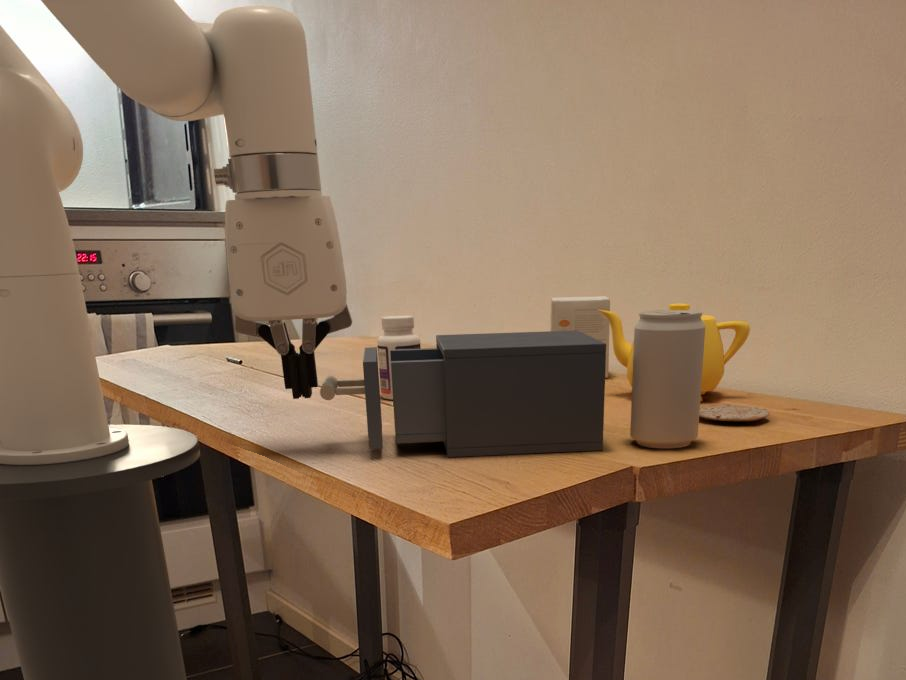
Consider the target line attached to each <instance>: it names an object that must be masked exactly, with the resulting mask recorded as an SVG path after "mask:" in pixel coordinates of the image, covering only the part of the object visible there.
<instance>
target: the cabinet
mask: <svg viewBox="0 0 906 680" xmlns="http://www.w3.org/2000/svg"><path fill="white" fill-rule="evenodd" d="M435 343H436V344H435V345H436V347H435V348H439V349H440V351H441V353H442V354H443V356H444V379H445V405H446V432H447V441H443V446H444V449H445V452H446V456H447V458H459V457H462V458H463V457H482V456H483V457H484V456H485V457H486V456H506V455H508V456H509V455H528V454H549V453H551V454H552V453H573V452H594V451H604V428H605V427H604V425H605V424H604V423H605V422H604V421H605V397H606V396H605V393H606V392H605V391H606V378H605V366H606V353H605V352H606V343H603V342H601V341H599V340H597V339H595V338H593V337H591V336H589V335H587V334H584V333H582V332H580V331H578V330H575V331H519V332H518V331H517V332H491V333H462V334H461V333H459V334H436V335H435Z"/></svg>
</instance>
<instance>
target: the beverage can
mask: <svg viewBox="0 0 906 680" xmlns="http://www.w3.org/2000/svg"><path fill="white" fill-rule="evenodd" d="M702 315H703V312H702V311H700V310H690V309H689V310H670V309H655V310H645V311H640V312H639V313H638V317H639V319H638V321H637V323H636V324H635V326H634V328H633V329H634V330H633V332H634V333H633V336H634V337H633V340H634V353H633V378H632V387H631V404H630V406H631V407H630V428H629V430H630V431H629V435H630V438H632V439H633V440H634V441H635V442H636V444H637V445H639V446H641V447H645V448H650V449H651V448H652V449H681V448H686V447H688V446H690V445H691V442H693V441H694V440H696V439H697V438H698V436H699V426H700V425H699V424H700V417H699V411H700V408H701V401H700V397H702V394H701V383H702V369H703V355H704V341H705V325H704V323H703V321H702V319H701V316H702Z"/></svg>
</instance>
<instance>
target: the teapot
mask: <svg viewBox="0 0 906 680" xmlns="http://www.w3.org/2000/svg"><path fill="white" fill-rule="evenodd" d="M690 307H691V304H689V303H682V302H681V303H671V304H669V305H668V310H690ZM598 310H599V309H598ZM599 311H600V312H601V313H603V314H604V315H605V316H606V317H607V319H608V320H609V322H610V329H611V338H612V348H613V352H614V355H615V357H616V359H617V361H618V363H620V365H622V366H623V367H625V368H626V378H627V380H628V383H629V385H630V387H631V388H632V378H633V353H634V339H633V341H632V343H631V344H630V343H629V342H628V341H627V340H626V338H625V336H624V330H623V329H624V328H623V324H622V319H621V318H620V316H619V314H618V313H616V312H614V311H611V310H610V311H605V310H599ZM701 319H702V321H703V323H704V325H705V341H704V355H703V369H702V383H701V395H705V394H706V392H712V391H715V390H716V389H717V387H718V385H719V384H720V382H721V380H722V378H723V376H724V374H725V366H726V365H727V363H728V362H729V361H730V360H731V359H732V358H733V357H734V356H735V355H736V354H737V352H738V351H740V350H741V348H742V347H743V345H744V344H745V342H746V341H747V339H748V337H749V335H750V331H751V326H750V324H749V323H748V322H746V321H744V320H730V321H729V320H728V321H722V322H717V319H716V317H715V316H713V315H707V314H706V315H705V314H702V316H701ZM720 330H734V332H735V334H734V338H733V340H732V342H731V344H730V346H729V348H728V349H727V351H726V352H724V345H723V344H724V343H723V340H722V336H721V333H720ZM700 402H703V397H702V396H701V397H700Z"/></svg>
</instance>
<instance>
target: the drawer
mask: <svg viewBox="0 0 906 680" xmlns="http://www.w3.org/2000/svg"><path fill="white" fill-rule="evenodd" d="M390 357H391V373H392V389H393V400H392V404H393V405H392V407H393V419H394V433H395V434H394V435H395V443H396V444H416V443H438V442H440V443H442V442H443V441H447V432H446V405H445V379H444V356H443V354H442V353H441V351H440V349H439V348H436V347H432V348H431V347H427V348H425V347H423V348H421V349H395V350H390ZM362 370H363V371H362V372H363V378H357V379H337V378H336V377H335V376H333V375H327V376H326V377H325V378H324V379H323V382H322V385H321V387H320V390H319V395H320V397H321V398H322V399H323V400H325V401H331V400H333V399H334V398H335V396H349V395H350V396H351V395H354V396H355V395H364V397H365V398H364V399H365V412H366V424H367V425H366V426H367V440H368V450H383V417H382V404H381V403H382V402H381V389H380V375H379V361H378V347H377V346H376V347H375V346H374V347H373V346H372V347H371V346H370V347H364V351H363V358H362ZM443 443H444V442H443Z"/></svg>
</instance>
